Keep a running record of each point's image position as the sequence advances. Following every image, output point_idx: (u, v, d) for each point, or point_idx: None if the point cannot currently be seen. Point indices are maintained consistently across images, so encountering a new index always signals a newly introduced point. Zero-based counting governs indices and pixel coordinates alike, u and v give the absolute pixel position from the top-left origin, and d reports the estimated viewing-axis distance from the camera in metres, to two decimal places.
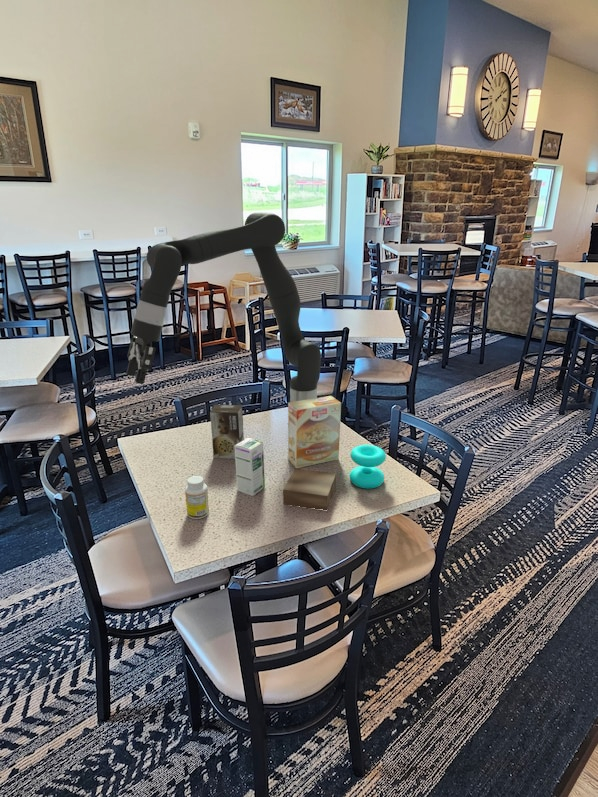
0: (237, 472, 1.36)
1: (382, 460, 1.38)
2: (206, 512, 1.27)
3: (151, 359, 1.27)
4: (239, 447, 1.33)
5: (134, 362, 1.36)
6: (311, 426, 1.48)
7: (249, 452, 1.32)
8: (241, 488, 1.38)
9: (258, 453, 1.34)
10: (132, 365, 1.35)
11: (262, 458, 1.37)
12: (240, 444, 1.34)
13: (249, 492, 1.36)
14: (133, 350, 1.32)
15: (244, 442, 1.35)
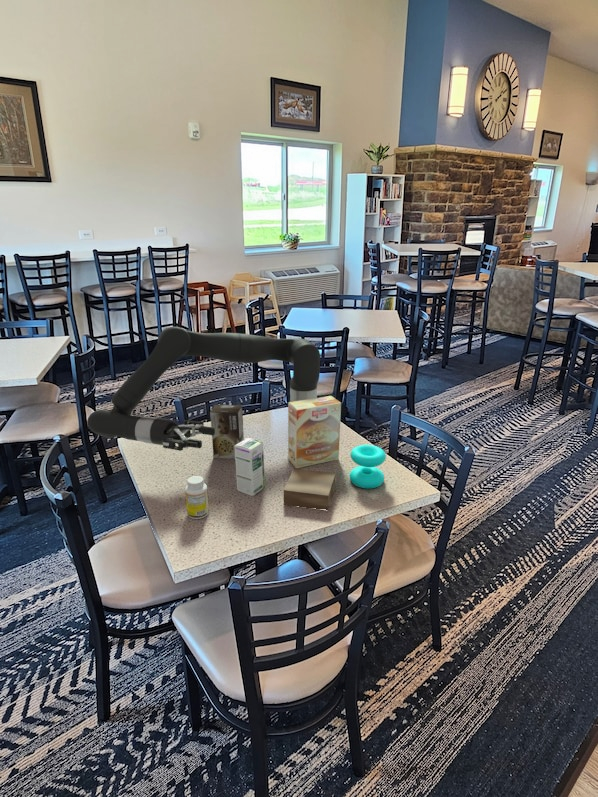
0: (237, 472, 1.36)
1: (382, 460, 1.38)
2: (206, 512, 1.27)
3: (171, 442, 1.32)
4: (239, 447, 1.33)
5: (202, 429, 1.42)
6: (311, 426, 1.48)
7: (249, 452, 1.32)
8: (241, 488, 1.38)
9: (258, 453, 1.34)
10: (204, 431, 1.42)
11: (262, 458, 1.37)
12: (240, 444, 1.34)
13: (249, 492, 1.36)
14: None
15: (244, 442, 1.35)
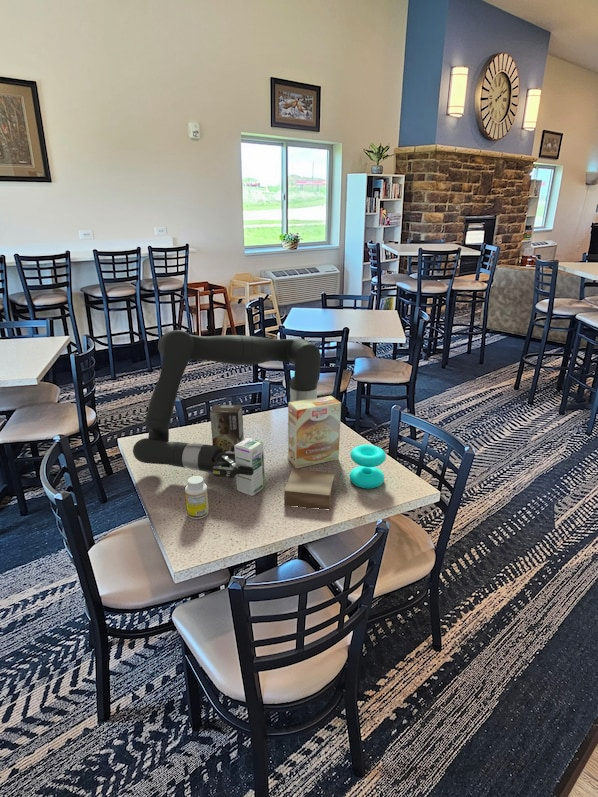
0: None
1: (382, 460, 1.38)
2: (206, 512, 1.27)
3: (223, 470, 1.32)
4: (239, 447, 1.33)
5: None
6: (311, 426, 1.48)
7: (249, 452, 1.32)
8: (241, 488, 1.38)
9: (258, 453, 1.34)
10: None
11: (262, 458, 1.37)
12: (240, 444, 1.34)
13: (249, 492, 1.36)
14: None
15: (244, 442, 1.35)
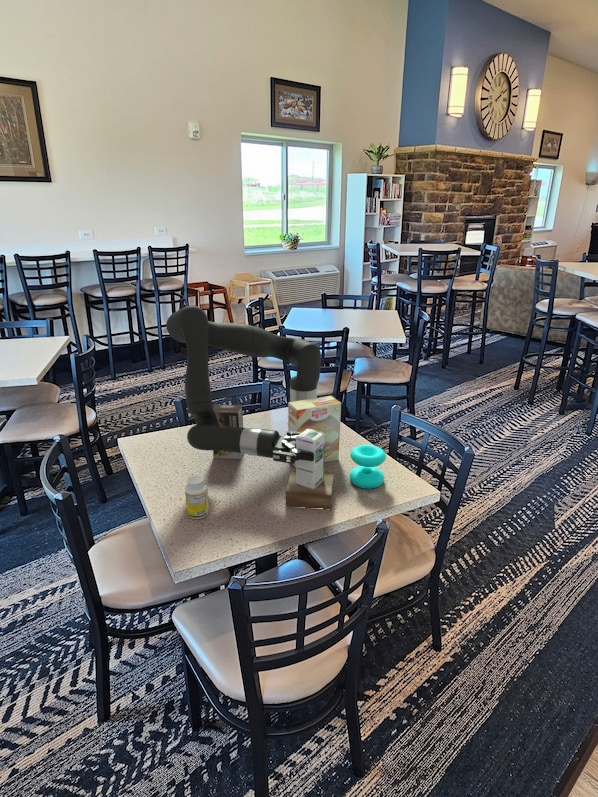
0: (298, 465, 1.31)
1: (382, 460, 1.38)
2: (206, 512, 1.27)
3: (283, 455, 1.26)
4: (302, 438, 1.28)
5: None
6: (311, 426, 1.48)
7: (313, 443, 1.27)
8: (301, 481, 1.32)
9: (320, 444, 1.29)
10: None
11: (323, 449, 1.32)
12: (302, 435, 1.29)
13: (310, 485, 1.31)
14: None
15: (305, 433, 1.30)
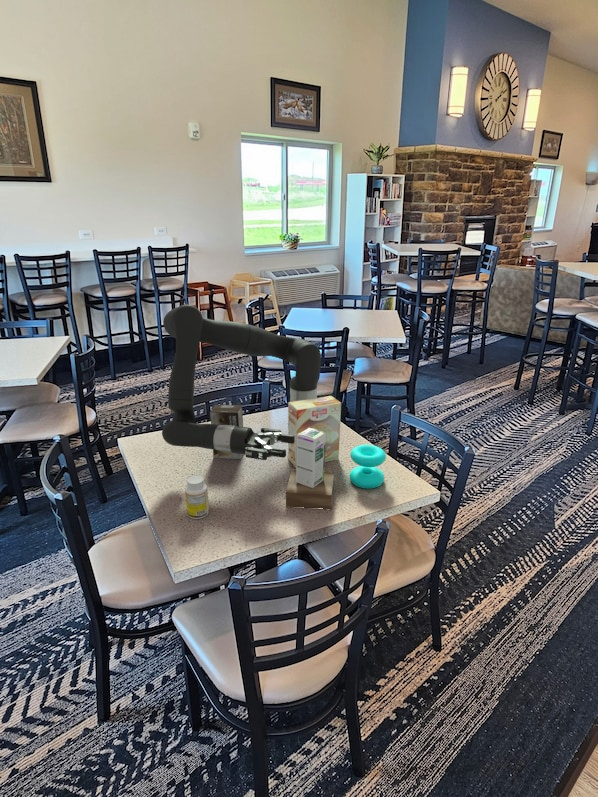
0: (298, 463, 1.32)
1: (382, 460, 1.38)
2: (206, 512, 1.27)
3: (255, 452, 1.28)
4: (302, 436, 1.28)
5: (281, 437, 1.37)
6: (311, 426, 1.48)
7: (313, 442, 1.27)
8: (300, 479, 1.33)
9: (320, 443, 1.30)
10: (284, 439, 1.37)
11: (324, 449, 1.32)
12: (303, 433, 1.29)
13: (310, 484, 1.31)
14: None
15: (307, 432, 1.30)
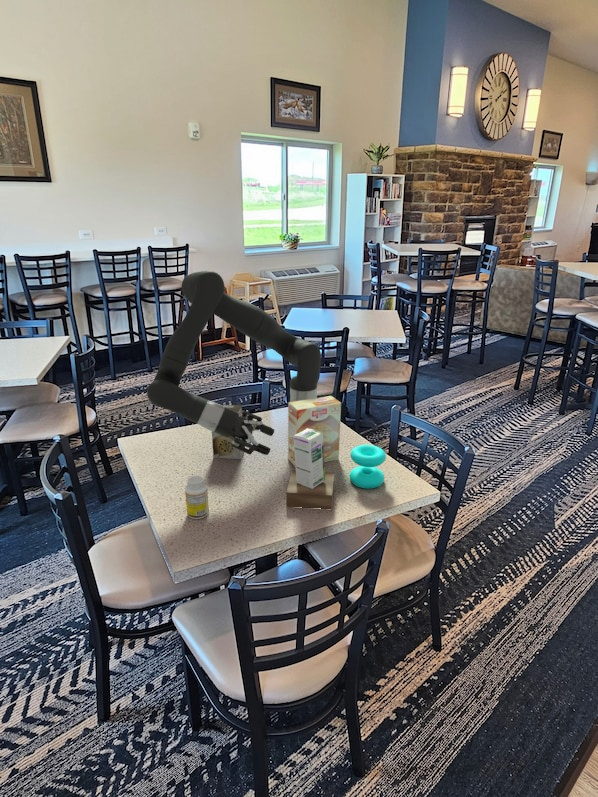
0: (297, 464, 1.32)
1: (382, 460, 1.38)
2: (206, 512, 1.27)
3: (244, 445, 1.31)
4: (298, 437, 1.28)
5: (261, 427, 1.41)
6: (311, 426, 1.48)
7: (308, 443, 1.26)
8: (300, 480, 1.33)
9: (317, 444, 1.29)
10: (263, 430, 1.41)
11: (322, 449, 1.31)
12: (299, 434, 1.29)
13: (309, 484, 1.31)
14: None
15: (303, 432, 1.30)
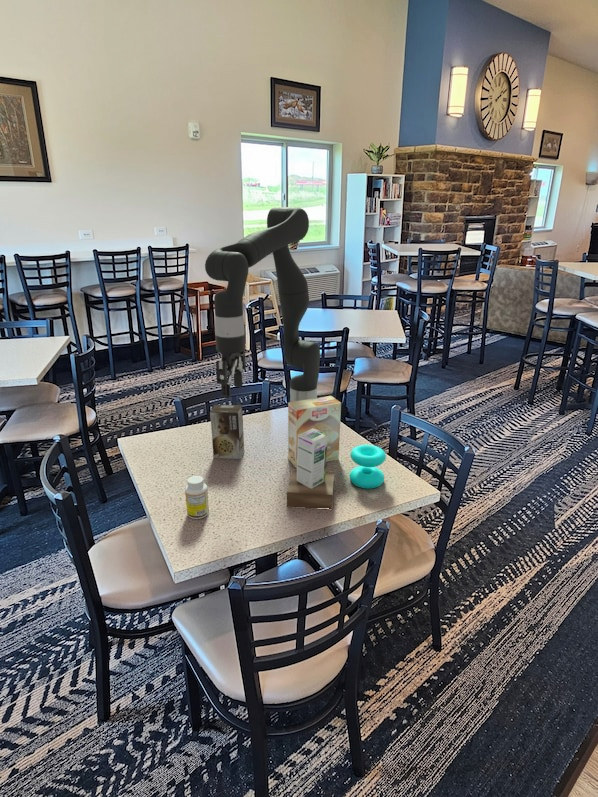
0: (298, 463, 1.32)
1: (382, 460, 1.38)
2: (206, 512, 1.27)
3: (223, 374, 1.24)
4: (303, 437, 1.28)
5: (238, 374, 1.35)
6: (311, 426, 1.48)
7: (312, 444, 1.26)
8: (300, 479, 1.33)
9: (321, 445, 1.29)
10: (236, 377, 1.35)
11: (325, 451, 1.31)
12: (304, 434, 1.29)
13: (308, 484, 1.31)
14: None
15: (308, 432, 1.30)
